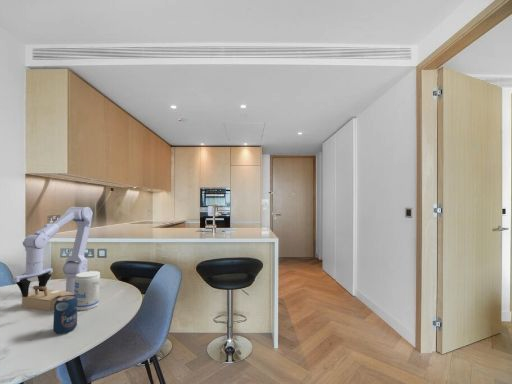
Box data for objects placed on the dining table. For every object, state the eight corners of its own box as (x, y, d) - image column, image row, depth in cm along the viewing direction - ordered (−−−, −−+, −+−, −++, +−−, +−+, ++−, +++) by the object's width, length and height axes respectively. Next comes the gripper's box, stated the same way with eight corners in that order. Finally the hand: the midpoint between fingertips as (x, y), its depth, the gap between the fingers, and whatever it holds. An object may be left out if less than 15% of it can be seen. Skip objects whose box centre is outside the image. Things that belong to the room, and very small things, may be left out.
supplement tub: (68, 311, 109) (69, 276, 110) (82, 302, 119) (83, 270, 119) (91, 311, 110) (92, 276, 110) (103, 302, 119) (104, 270, 120)
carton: (45, 298, 123) (45, 288, 123) (71, 301, 119) (72, 292, 120) (21, 306, 114) (22, 296, 114) (49, 310, 110) (50, 300, 110)
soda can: (64, 336, 89) (65, 301, 90) (47, 334, 90) (49, 300, 91) (81, 327, 96) (82, 294, 96) (65, 325, 97) (66, 293, 98)
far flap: (50, 301, 110) (47, 291, 109) (22, 297, 114) (20, 287, 113) (60, 294, 115) (58, 285, 114) (33, 291, 118) (31, 282, 117)
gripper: (44, 258, 119) (43, 287, 119) (8, 265, 105) (7, 299, 105) (56, 259, 118) (55, 288, 117) (21, 266, 104) (19, 300, 103)
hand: (33, 293), depth 111 cm, fingers open, 6 cm apart
